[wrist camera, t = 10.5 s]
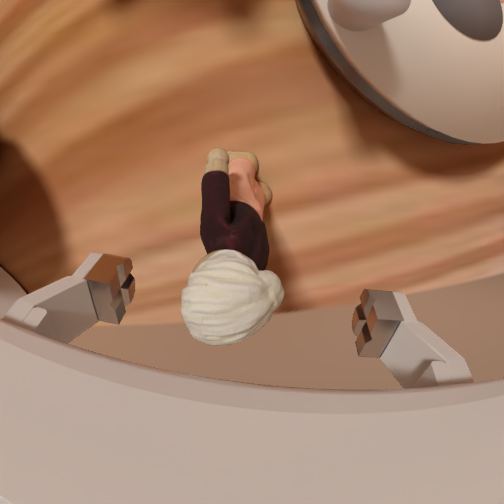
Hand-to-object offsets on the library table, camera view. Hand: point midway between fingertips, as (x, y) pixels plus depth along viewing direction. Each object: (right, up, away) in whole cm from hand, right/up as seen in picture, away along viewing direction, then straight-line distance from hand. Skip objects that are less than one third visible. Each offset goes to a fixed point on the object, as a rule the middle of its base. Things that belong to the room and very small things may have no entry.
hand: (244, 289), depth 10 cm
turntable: (+12, +16, -1) cm, 21 cm away
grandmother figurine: (0, +6, +10) cm, 11 cm away
